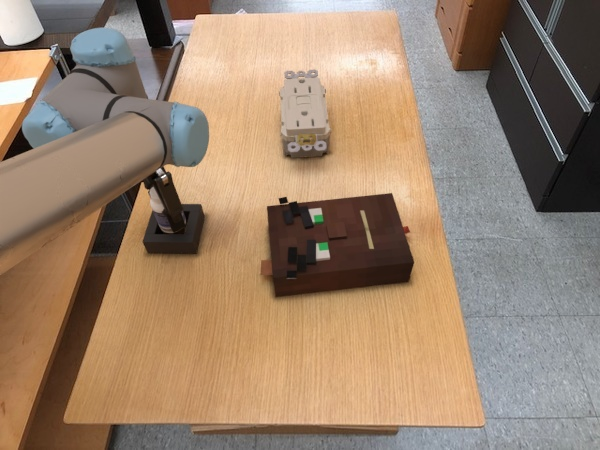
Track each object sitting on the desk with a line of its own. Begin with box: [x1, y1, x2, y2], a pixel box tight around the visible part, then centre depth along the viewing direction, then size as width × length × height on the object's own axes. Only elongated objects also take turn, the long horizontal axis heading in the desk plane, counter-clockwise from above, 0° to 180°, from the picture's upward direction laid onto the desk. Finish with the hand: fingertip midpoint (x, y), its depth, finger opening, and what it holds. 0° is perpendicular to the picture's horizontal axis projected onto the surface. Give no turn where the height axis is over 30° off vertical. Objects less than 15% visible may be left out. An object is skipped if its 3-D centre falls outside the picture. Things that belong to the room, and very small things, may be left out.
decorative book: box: [260, 192, 415, 298], centre depth 86 cm, size 19×8×30 cm
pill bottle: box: [149, 187, 187, 234], centre depth 87 cm, size 5×5×10 cm
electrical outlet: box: [278, 68, 332, 159], centre depth 109 cm, size 12×28×10 cm, turn 3°
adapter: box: [141, 203, 206, 255], centre depth 92 cm, size 10×10×4 cm
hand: (171, 219), depth 90 cm, fingers closed on pill bottle, 5 cm apart
